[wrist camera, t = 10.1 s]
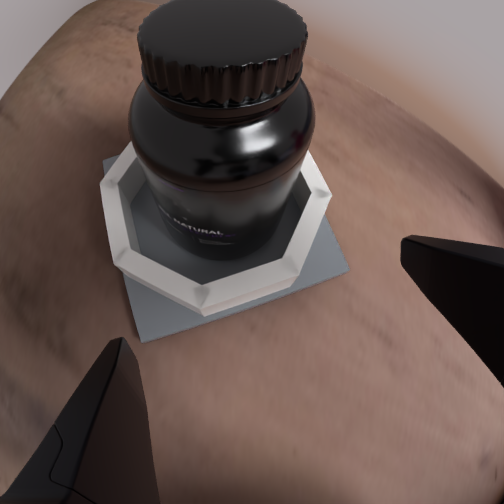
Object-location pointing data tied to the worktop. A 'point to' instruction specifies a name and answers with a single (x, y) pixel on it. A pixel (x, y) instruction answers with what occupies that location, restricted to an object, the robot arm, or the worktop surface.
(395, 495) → the worktop surface
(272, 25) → the supplement bottle
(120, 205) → the collar seat
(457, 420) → the worktop surface
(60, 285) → the worktop surface
